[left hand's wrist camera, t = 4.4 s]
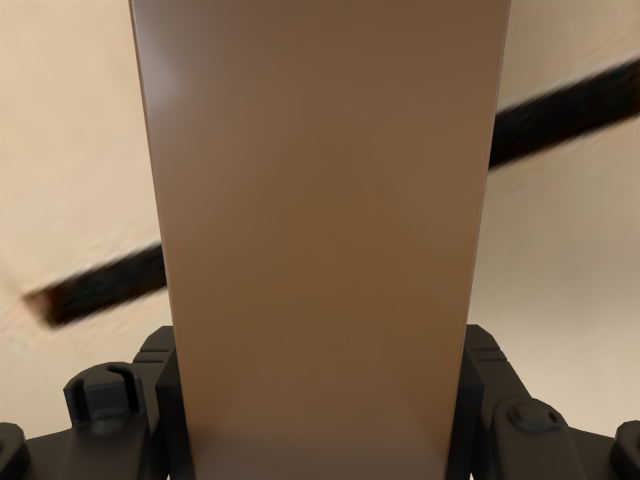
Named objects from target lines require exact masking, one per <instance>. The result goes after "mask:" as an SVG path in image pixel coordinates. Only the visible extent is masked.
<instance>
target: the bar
mask: <svg viewBox="0 0 640 480" xmlns="http://www.w3.org/2000/svg"><path fill="white" fill-rule="evenodd" d="M128 1H129V8H130V15H131V23H132V30H133V37H134V45H135V52H136V59H137V66H138V74H139V81H140V88H141V96H142V103H143V110H144V117H145V125H146V132H147V139H148V147H149V154H150V161H151V168H152V176H153V183H154V190H155V198H156V205H157V212H158V219H159V227H160V234H161V241H162V249H163V256H164V263H165V271H166V278H167V285H168V292H169V300H170V307H171V314H172V322H173V329H174V336H175V343H176V351H177V358H178V365H179V373H180V380H181V387H182V394H183V402H184V409H185V416H186V424H187V431H188V438H189V445H190V453H191V460H192V467H193V475H194V480H445V478H446V471H447V464H448V457H449V449H450V442H451V435H452V427H453V420H454V413H455V405H456V398H457V391H458V383H459V376H460V369H461V362H462V354H463V347H464V340H465V332H466V325H467V318H468V310H469V303H470V296H471V289H472V281H473V274H474V267H475V259H476V252H477V245H478V237H479V230H480V223H481V216H482V208H483V201H484V194H485V186H486V179H487V172H488V164H489V157H490V150H491V143H492V135H493V128H494V121H495V113H496V106H497V99H498V91H499V84H500V77H501V70H502V62H503V55H504V48H505V40H506V33H507V26H508V18H509V11H510V4H511V0H128Z"/></svg>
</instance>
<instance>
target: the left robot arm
mask: <svg viewBox="0 0 640 480" xmlns="http://www.w3.org/2000/svg"><path fill="white" fill-rule="evenodd" d="M63 391H64V395H65V399H66V403H67V407H68V411H69V414H70V418H71V422H72V427H71V429H68V430H64V431H61V432H58V433H54V434H49V435H45V436H41V437H36V438H32V439H28V440H26V439H25V436H24V432H23V430H22V429H21V428H20V427H19V426H18V425H16V424H12V423H6V422H2V423H0V480H167V477H168V475H169V477H170V480H194V475H193V467H192V460H191V453H190V445H189V438H188V431H187V424H186V416H185V409H184V402H183V394H182V387H181V380H180V373H179V365H178V358H177V351H176V343H175V336H174V329H173V326H162V327H161V328H159V329H158V330H156V331H155V332H154V333H152V334H151V335H150V336H148V337H147V339H146V341H145V342H144V344H143V345H142V347H141V349H140V352H138V353H137V355H136V356H135V358H134V360H133V363H131V364H129V363H126V362H108V363H104V364H99V365H95V366H93V367H91V368H89V369H86V370H84V371H82V372H80V373H79V374H78V375H76V376H75V377H73V378H72V379H71V380H70V381H69V382H68V383H67V385H66V386H65V387H64V389H63ZM471 473H472V476H473V479H474V480H640V421H637V420H635V421H629V422H624V423H623V424H622V425H620V426H619V427H618V428H617V431H616V434H615V438H612V437H607V436H603V435H599V434H594V433H590V432H586V431H581V430H578V429H575V428H572V427H569V426H568V424H567V423H566V421H565V420H564V418H563V417H562V415H561V414H560V413H559V412H557V411H556V410H555V409H554V408H553V407H551V406H550V405H548V404H546V403H544V402H542V401H540V400H538V399H535V398H532V397H531V396H530V394H529V393H528V391H527V389H526V388H525V386H524V385H523V383H522V382H521V380H520V378H519V377H518V375H517V374H516V372H515V371H514V369H513V367H512V366H511V364H510V363H509V362H507V358H506V357H505V355H504V353H503V352H502V351H500V347H499V346H498V344H497V342H496V341H495V339H494V338H493V336H492V335H491V334H489V333H488V332H487V331H485V330H484V329H483V328H481V327H480V326H479V325H466V332H465V340H464V347H463V354H462V362H461V369H460V376H459V383H458V391H457V398H456V405H455V413H454V420H453V427H452V435H451V442H450V449H449V457H448V464H447V471H446V478H445V480H470V475H471Z"/></svg>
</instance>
